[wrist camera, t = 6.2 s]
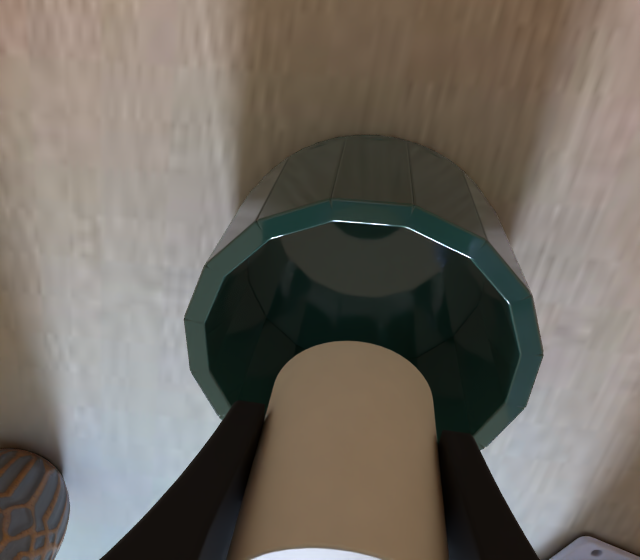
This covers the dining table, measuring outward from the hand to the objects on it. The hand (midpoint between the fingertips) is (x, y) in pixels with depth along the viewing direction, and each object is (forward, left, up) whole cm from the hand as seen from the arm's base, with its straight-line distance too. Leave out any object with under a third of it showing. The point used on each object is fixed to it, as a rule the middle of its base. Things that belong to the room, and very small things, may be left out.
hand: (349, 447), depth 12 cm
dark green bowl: (0, 0, -8) cm, 8 cm away
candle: (0, 0, -1) cm, 1 cm away
